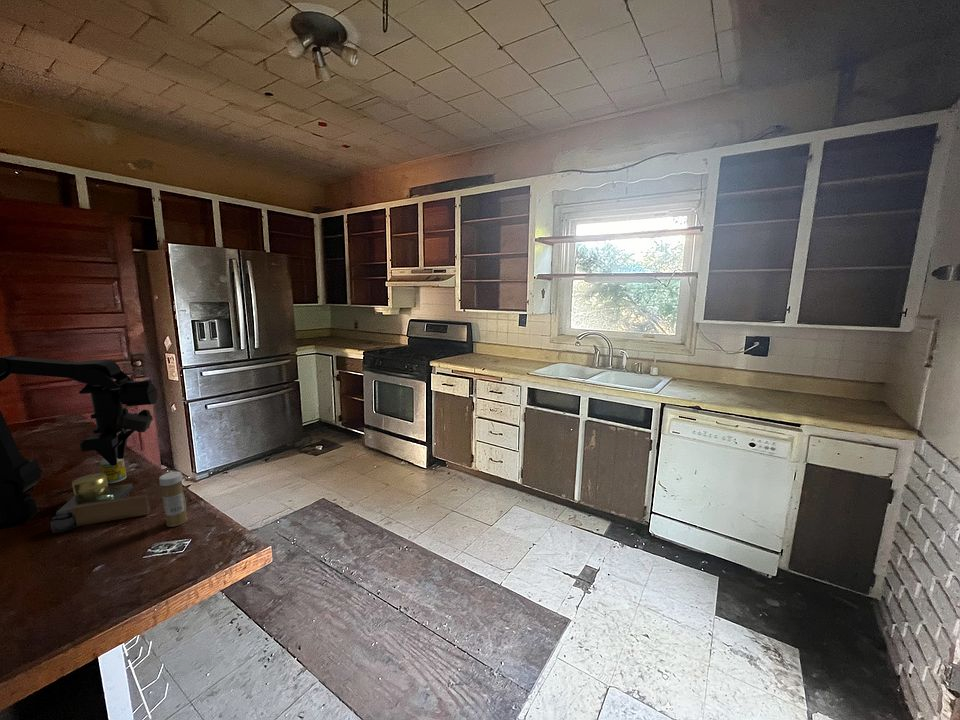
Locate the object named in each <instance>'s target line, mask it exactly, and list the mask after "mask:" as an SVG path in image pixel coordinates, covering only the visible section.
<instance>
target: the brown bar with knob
mask: <svg viewBox="0 0 960 720" xmlns="http://www.w3.org/2000/svg"><path fill="white" fill-rule="evenodd" d="M150 513H151V507H150V501H149V494H141V495H134V496H128V497H124V498H120V499H114V500H107V501H101V502H94V503H87V504H81V505H75V506H74V507H73V508H72V510H65V511H62V512H59V513H57V514H56V513H55V515H54V516H53V517H52V518H51V519H50V521H49V523H50V527H51V532H52V533H53V534H60V533H64V532H69V531H71V530H73V529H76V528H77V527H80V526H87V525H92V524H93V525H94V524H98V523H99V524H100V523H104V522H110V521H118V520H123V519H127V518H128V519H129V518H135V517H141V516H146V515H150Z"/></svg>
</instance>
